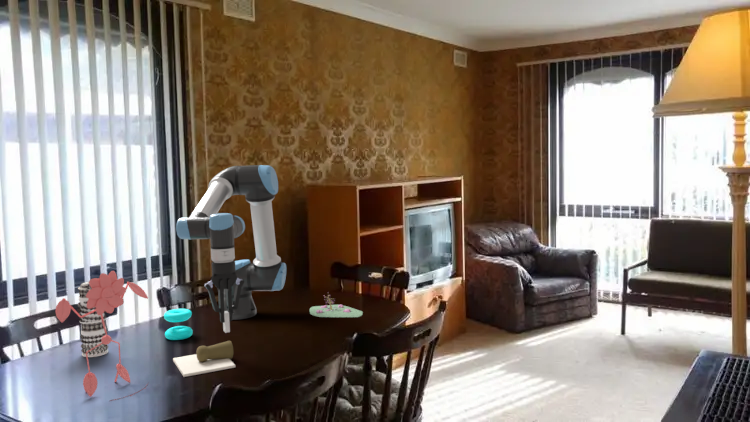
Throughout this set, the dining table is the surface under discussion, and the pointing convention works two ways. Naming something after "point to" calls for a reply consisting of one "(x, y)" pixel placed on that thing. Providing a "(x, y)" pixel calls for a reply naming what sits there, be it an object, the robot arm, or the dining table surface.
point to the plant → (334, 310)
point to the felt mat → (201, 365)
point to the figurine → (105, 298)
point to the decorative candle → (90, 326)
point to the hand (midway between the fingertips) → (226, 331)
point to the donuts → (178, 331)
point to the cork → (215, 351)
